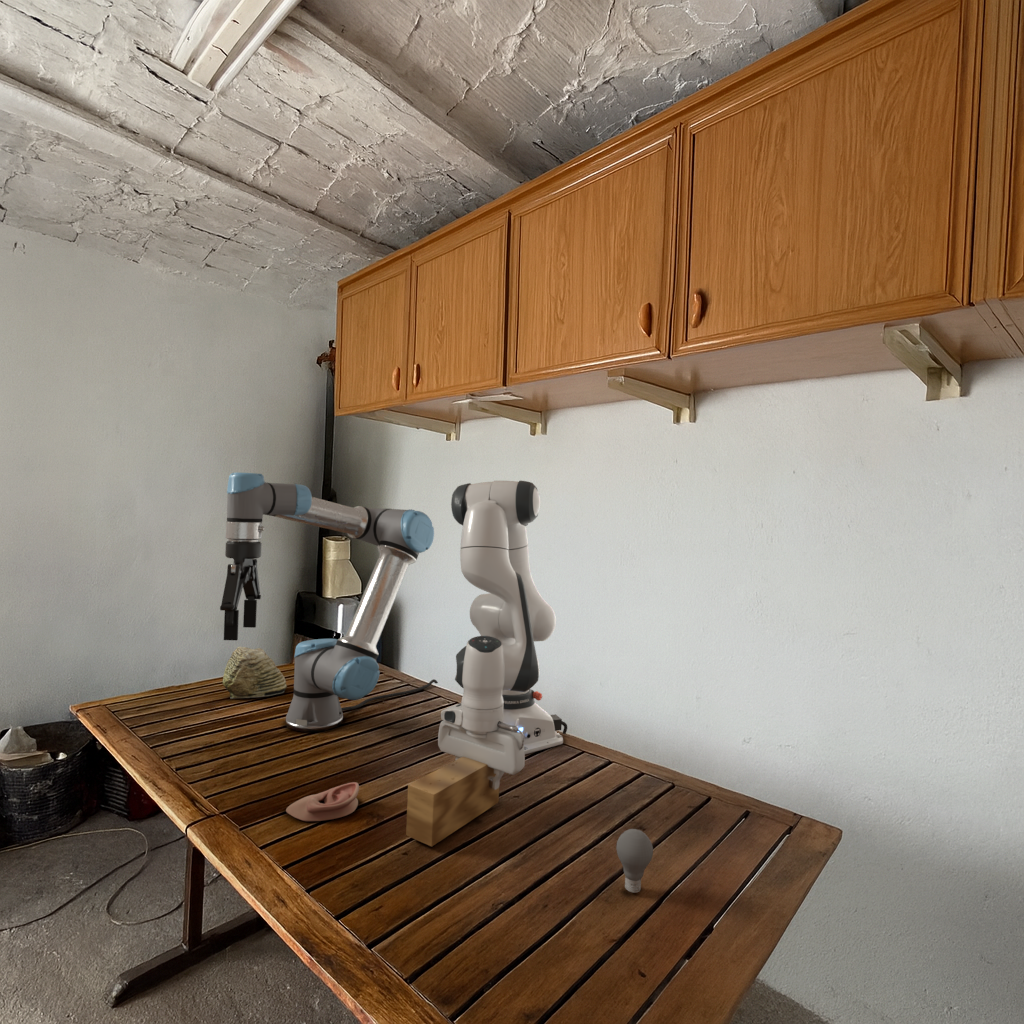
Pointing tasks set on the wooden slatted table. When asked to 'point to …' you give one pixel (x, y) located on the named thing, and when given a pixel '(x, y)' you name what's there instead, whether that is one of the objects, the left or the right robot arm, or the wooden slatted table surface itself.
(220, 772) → the wooden slatted table surface
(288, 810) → the anatomical model
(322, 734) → the wooden slatted table surface
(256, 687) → the fossil
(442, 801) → the box
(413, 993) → the wooden slatted table surface
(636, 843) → the light bulb
